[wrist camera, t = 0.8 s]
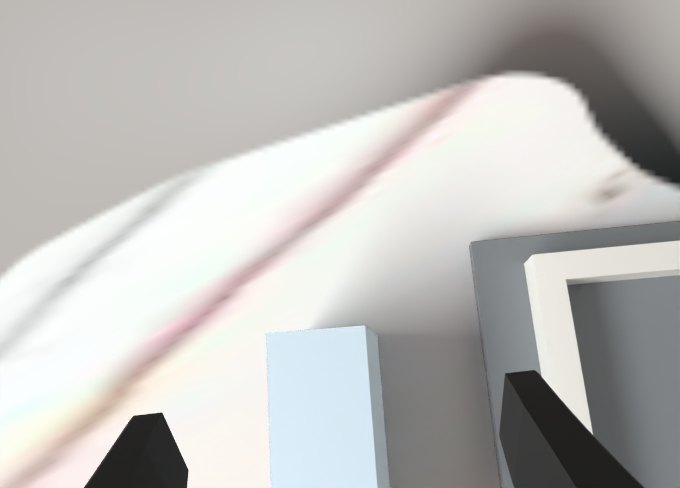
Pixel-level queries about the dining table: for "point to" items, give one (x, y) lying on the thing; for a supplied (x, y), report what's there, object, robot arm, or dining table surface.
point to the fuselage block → (326, 409)
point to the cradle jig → (591, 335)
